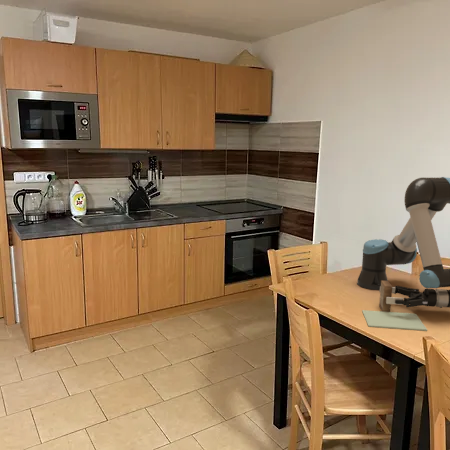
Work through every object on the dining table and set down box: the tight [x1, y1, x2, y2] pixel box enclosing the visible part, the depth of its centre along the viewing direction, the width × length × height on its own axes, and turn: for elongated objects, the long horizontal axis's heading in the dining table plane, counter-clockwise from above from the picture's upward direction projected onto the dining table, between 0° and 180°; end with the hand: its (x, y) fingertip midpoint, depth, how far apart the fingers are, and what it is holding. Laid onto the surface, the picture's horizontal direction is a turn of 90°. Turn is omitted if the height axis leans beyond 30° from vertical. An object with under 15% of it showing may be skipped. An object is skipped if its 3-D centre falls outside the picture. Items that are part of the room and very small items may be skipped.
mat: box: [361, 309, 428, 332], centre depth 174 cm, size 22×16×1 cm
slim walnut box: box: [378, 280, 393, 312], centre depth 185 cm, size 3×8×12 cm, turn 171°
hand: (382, 294), depth 184 cm, fingers open, 13 cm apart
